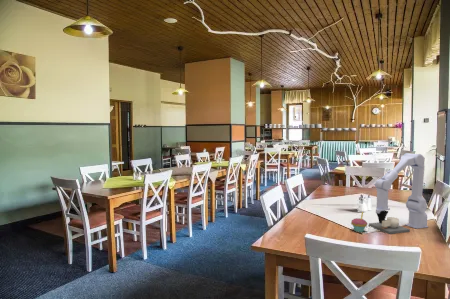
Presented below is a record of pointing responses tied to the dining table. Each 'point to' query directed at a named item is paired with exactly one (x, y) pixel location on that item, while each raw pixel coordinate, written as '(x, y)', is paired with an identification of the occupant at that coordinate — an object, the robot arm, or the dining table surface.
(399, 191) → the dining table surface
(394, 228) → the post board
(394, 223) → the cream ball joystick
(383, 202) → the robot arm
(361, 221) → the cupcake
